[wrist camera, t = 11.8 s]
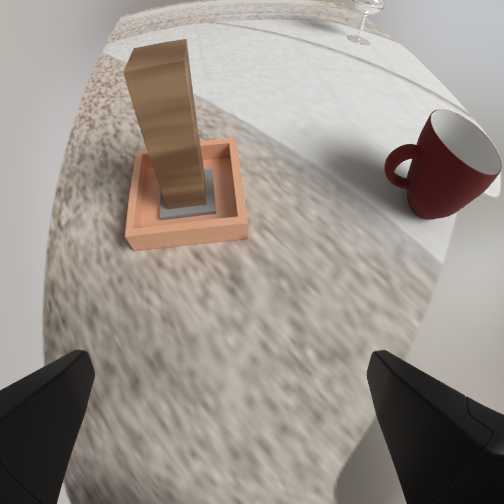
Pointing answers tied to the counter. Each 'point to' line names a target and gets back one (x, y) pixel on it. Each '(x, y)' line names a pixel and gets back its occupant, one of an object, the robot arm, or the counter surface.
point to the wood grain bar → (170, 128)
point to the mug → (445, 165)
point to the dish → (190, 228)
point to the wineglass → (368, 4)
